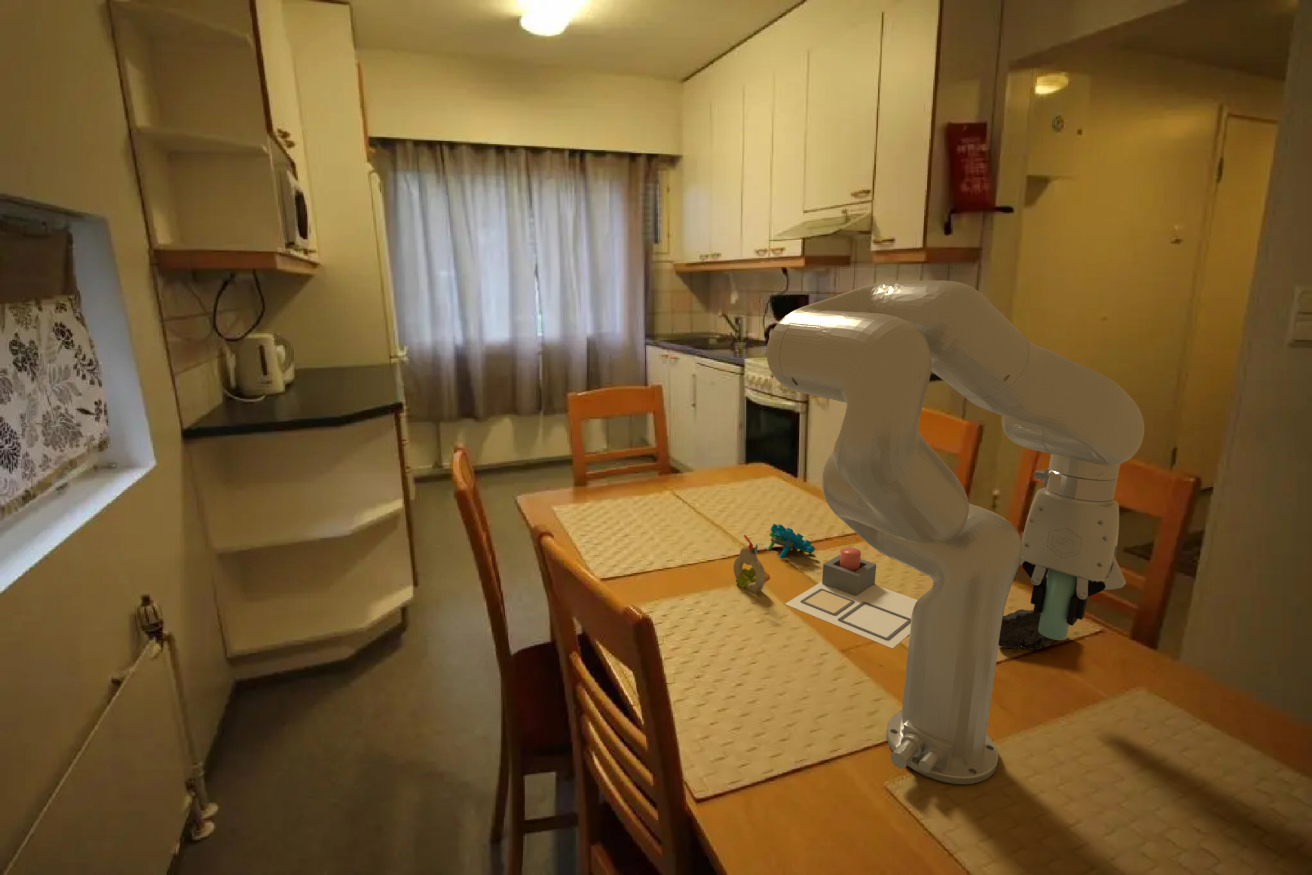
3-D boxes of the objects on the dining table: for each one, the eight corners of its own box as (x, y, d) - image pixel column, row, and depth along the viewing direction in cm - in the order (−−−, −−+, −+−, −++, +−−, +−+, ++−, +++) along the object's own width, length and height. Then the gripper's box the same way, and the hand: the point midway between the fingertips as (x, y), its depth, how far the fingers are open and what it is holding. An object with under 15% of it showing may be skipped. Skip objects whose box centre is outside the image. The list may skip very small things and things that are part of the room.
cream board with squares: (892, 651, 101) (892, 647, 101) (784, 606, 115) (784, 603, 115) (939, 610, 113) (940, 607, 113) (837, 574, 127) (837, 571, 127)
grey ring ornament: (788, 592, 120) (790, 534, 118) (749, 600, 117) (751, 541, 115) (766, 575, 127) (768, 520, 124) (729, 583, 124) (730, 527, 121)
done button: (852, 582, 119) (854, 556, 118) (835, 575, 122) (837, 551, 121) (862, 575, 122) (864, 551, 121) (845, 569, 124) (846, 545, 123)
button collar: (856, 596, 117) (857, 575, 116) (822, 583, 122) (823, 564, 121) (874, 583, 122) (876, 564, 121) (841, 572, 127) (842, 553, 126)
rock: (1015, 628, 97) (1021, 574, 103) (973, 641, 104) (980, 589, 110) (1081, 670, 97) (1082, 613, 103) (1034, 680, 104) (1038, 626, 110)
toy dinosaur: (825, 552, 133) (798, 526, 129) (811, 577, 132) (783, 550, 127) (788, 541, 143) (761, 516, 139) (775, 564, 141) (747, 539, 137)
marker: (1063, 643, 86) (1078, 565, 84) (1034, 632, 88) (1047, 557, 86) (1070, 634, 88) (1084, 558, 86) (1041, 624, 91) (1055, 551, 88)
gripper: (1001, 476, 87) (981, 602, 91) (1152, 508, 76) (1122, 650, 80) (1019, 468, 92) (1000, 587, 96) (1163, 496, 81) (1134, 630, 85)
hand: (1055, 614), depth 88 cm, fingers closed on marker, 3 cm apart
